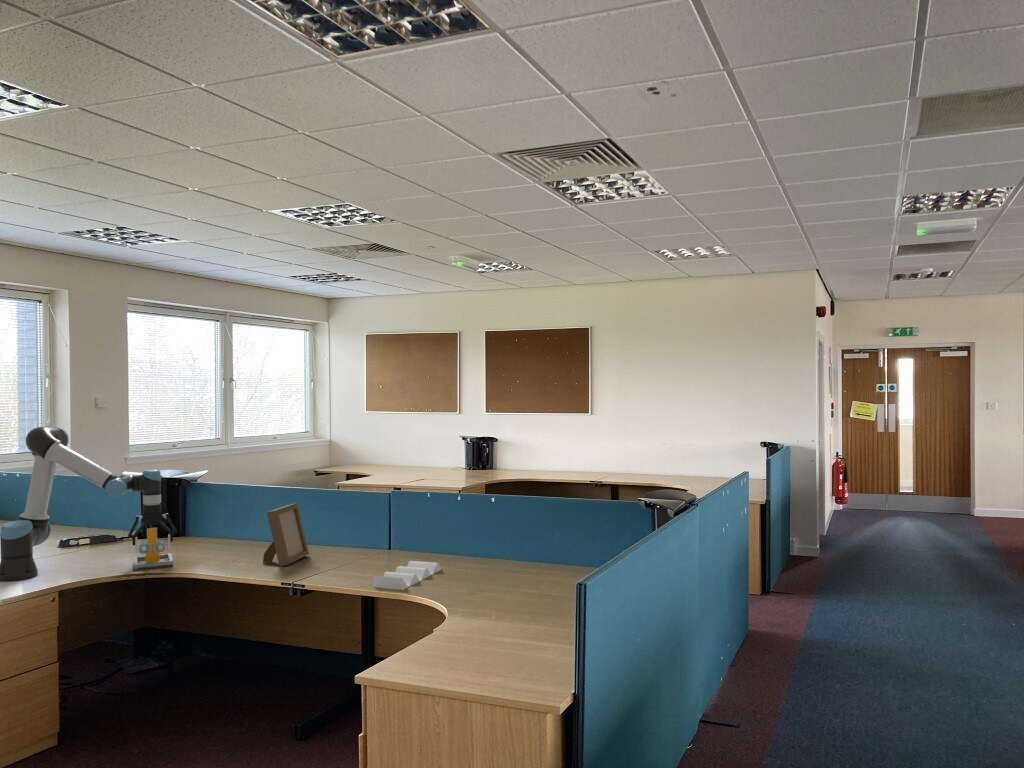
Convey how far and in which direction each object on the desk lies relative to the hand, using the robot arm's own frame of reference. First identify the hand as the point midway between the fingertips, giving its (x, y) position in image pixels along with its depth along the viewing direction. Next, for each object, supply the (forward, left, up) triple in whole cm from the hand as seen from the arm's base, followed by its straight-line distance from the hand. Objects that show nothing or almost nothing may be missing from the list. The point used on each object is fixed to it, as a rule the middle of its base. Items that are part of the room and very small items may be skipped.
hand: (153, 550), depth 357 cm
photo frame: (+54, -23, -7) cm, 59 cm away
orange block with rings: (0, 0, -5) cm, 5 cm away
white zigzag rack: (+95, -82, -7) cm, 126 cm away
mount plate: (0, 0, -6) cm, 6 cm away
